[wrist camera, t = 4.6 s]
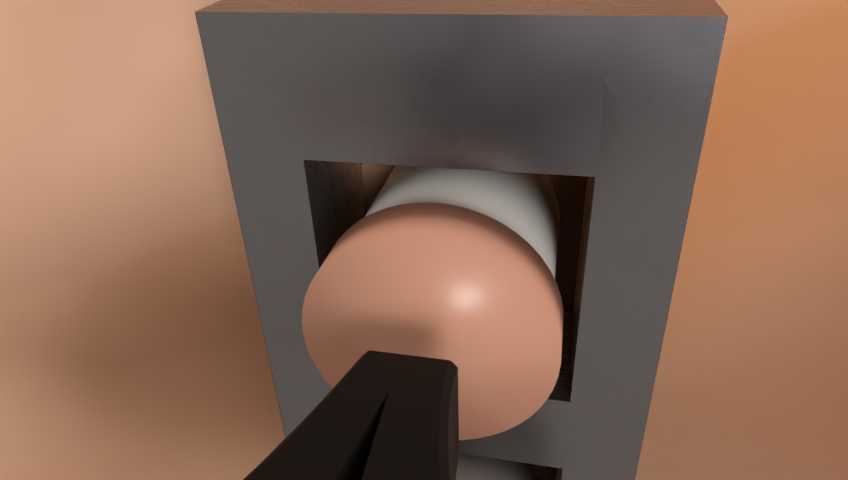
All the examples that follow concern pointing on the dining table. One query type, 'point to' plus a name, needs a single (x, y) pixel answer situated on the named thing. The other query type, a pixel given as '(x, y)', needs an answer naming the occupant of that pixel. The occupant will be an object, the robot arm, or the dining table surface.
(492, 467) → the slate button
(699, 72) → the panel
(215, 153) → the dining table surface
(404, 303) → the peach ball
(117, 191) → the dining table surface
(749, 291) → the dining table surface
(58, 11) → the dining table surface
